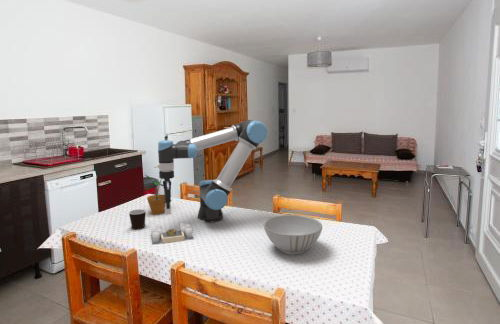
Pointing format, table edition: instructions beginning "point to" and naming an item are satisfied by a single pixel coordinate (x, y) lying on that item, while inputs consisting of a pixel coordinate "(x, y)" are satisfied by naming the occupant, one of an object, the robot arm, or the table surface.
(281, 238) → the decorative bowl
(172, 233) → the nut
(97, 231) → the table surface
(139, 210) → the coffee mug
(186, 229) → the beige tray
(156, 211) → the potted plant
